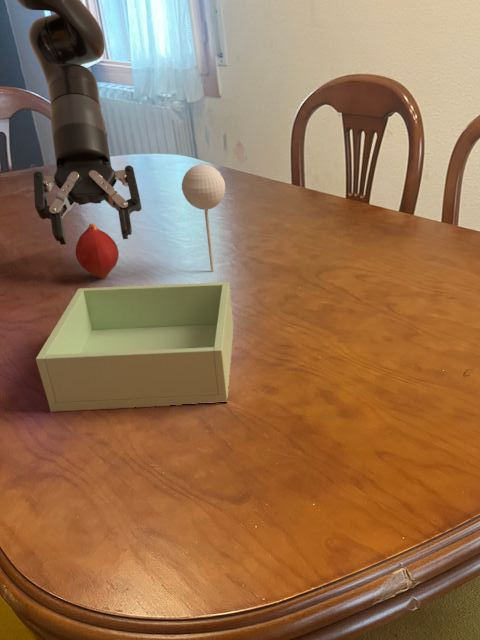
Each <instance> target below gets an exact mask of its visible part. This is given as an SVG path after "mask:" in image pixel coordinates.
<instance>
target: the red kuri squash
mask: <svg viewBox="0 0 480 640" xmlns="http://www.w3.org/2000/svg"><path fill="white" fill-rule="evenodd" d="M119 253H120V252H119V249H118V246H117V243H116V242H115V240H113V238H112V237H111V236H110V235H109V234H108V233H106V232H105V231H103V230H101V229H99V228H98V227H97V226H96V223H94V222H92V223H89V225H88V227H87V228H86V230H85V231H84V232H83V233H82V234H81V235H80V237H79V238H78V241H77V242H76V245H75V258H76V261H77V262H78V264H79V265H80V266H81V267H82V268H83V269H84V270H85V271H87V272H88V273H90V274H92V275H93V276H96V277H97V278H98V279H105V278H107V277H108V275H109V274H110V273H111V272H112V270H113V269H114V268H115V266H116V265H117V263H118V260H119V256H120V255H119Z"/></svg>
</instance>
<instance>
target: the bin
mask: <svg viewBox="0 0 480 640" xmlns="http://www.w3.org/2000/svg"><path fill="white" fill-rule="evenodd" d="M230 287H231V285H230V282H229V281H228V282H205V283H204V282H203V283H202V282H201V283H180V284H179V283H177V284H156V285H155V284H154V285H132V286H131V285H129V286H127V285H126V286H105V287H103V286H102V287H85V288H82V287H81V288H77V290H76V292H75V294H74V295H73V297H72V298H71V299H70V302H69V303H68V305H67V307H66V308H65V309H64V311H63V313H62V314H61V316H60V318H59V320H58V321H57V323H56V325H55V326H54V328H53V330H52V331H51V333H50V335H49V336H48V337H47V339H46V341H45V343H44V344H43V345H42V347H41V349H40V351H39V353H38V354H37V356H36V357H35V361H36V365H37V369H38V373H39V375H40V379H41V382H42V386H43V389H44V393H45V397H46V400H47V404H48V407H49V410H50V412H51V413H52V412H53V413H57V412H73V411H75V412H77V411H94V410H114V409H115V410H116V409H135V407H136V408H154V407H155V406H156V407H171V406H170V405H176V406H183V405H182V404H192V403H200V402H201V403H203V402H217V401H218V402H222V401H227V398H228V399H229V389H228V386H229V387H230V377H229V375H230V376H231V365H232V364H231V363H232V351H233V342H234V341H233V339H234V317H233V307H232V299H231V298H232V297H231V288H230ZM230 364H231V365H230ZM156 407H155V408H156Z"/></svg>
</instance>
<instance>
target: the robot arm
mask: <svg viewBox="0 0 480 640" xmlns="http://www.w3.org/2000/svg"><path fill="white" fill-rule="evenodd" d="M16 1H17V3H18V4H19V5H20V6H21V7H22V8H25V9H26V10H30V11H31V10H32V11H45V12H46V11H47V12H52V13H53V14H50V15H46V16H43V17H40V18H37V19H35V20H34V21H33V22H32V23H31V25H30V27H29V31H28V42H29V45H30V47H31V49H32V52H33V54H34V56H35V58H36V60H37V62H38V63H39V66H40V68H41V71H42V73H43V75H44V78H45V82H46V84H47V88H48V98H49V104H50V127H51V134H52V142H53V143H52V144H53V149H54V157H55V166H56V171H55V173H54V174H51V175H48V174H47V175H45V174H44V175H43V173H42V172H41V171H35V172H34V173H33V195H34V208H35V210H36V212H37V214H38V216H39V218H40V219H41V220H46V219H49V220H50V223H51V224H50V225H51V231H52V235H53V237H54V239H55V241H56V242H59V244H60V245H61V246H63V245H67V238H66V237H67V236H66V230H65V223H64V220H63V219H64V218H65V216H66V214H67V213H68V212H70V211H71V210H72V208H73V207H74V206H75V204H78V205H79V206H83V205H87V204H95V205H96V204H102V202H103V201H105V202H106V203H107V204H108V205H109V206H110V207H111V208H113V209H115V210H116V211H117V212H118V218H119V225H120V231H121V236H122V237H121V238H122V240H129V236H131V235H132V233H133V230H132V229H133V228H132V224H131V223H132V222H131V214H132V213H134V212H140V211H142V208H143V207H142V203H141V197H140V193H139V188H138V184H137V180H136V179H137V178H136V174H135V170H134V166H132V165H130V164H129V165H126V166H125V167H124V169H120V170H114V168H113V167H112V162H111V155H110V148H109V141H108V132H107V129H106V121H105V119H104V115H103V111H102V105H101V99H100V91H99V84H98V80H97V79H96V76H95V75H94V73H93V72H92V70H90V69H89V68H87V66H83V65H85V64H86V65H87V64H89V63H93V62H97V61H98V60H100V59H101V58H102V56H103V55H104V52H105V49H106V46H105V45H106V41H105V35H104V32H103V30H102V28H101V26H100V24H99V22H98V21H97V19H96V18H95V16H94V15H93V13H92V12H91V11H90V10H89V9H88V8H87V7H86V5H85V4H84V3H83V2H82V1H81V0H16ZM118 181H119V182H121V185H123V186H124V187H128V190H129V196H130V198H129V199H125V198H124V197H123V196H122V195H120V194H119V193H118V191H117V190H116V188H114V187H115V185H116V183H117V182H118ZM53 186H56V187H57V188H58V189H59V190H58V192H57V193H56V196H55V199H54V201H52V204H51V205H49V204H48V203H49V202H48V193H50V192H51V191H52V189H53Z"/></svg>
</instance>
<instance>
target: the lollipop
mask: <svg viewBox="0 0 480 640" xmlns="http://www.w3.org/2000/svg"><path fill="white" fill-rule="evenodd" d="M181 181H182V182H181V190H182V194H183V196H184V198H185V200H186V201H187V202H188V203H189V204H190V206H192V207H194V208H195V209H199V210H204V217H205V226H206V227H205V228H206V235H207V246H208V255H209V264H210V272H212V273H213V272H215V264H214V256H213V255H214V254H213V246H212V237H211V236H212V235H211V228H210V227H211V226H210V220H209V219H210V218H209V217H210V216H209V210H212V209H214V208H216V207H217V206H218V205H220V203H221V202H222V201H223V199H224V196H225V193H226V182H225V179H224V178H223V176H222V174H221V173H220V172H219V171H218V169H216V168H215V167H213V166H211V165H208V164H197V165H193V166H192V167H190V168H189V169H188V170H186V173H185V174H184V176H183V179H182V180H181Z"/></svg>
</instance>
